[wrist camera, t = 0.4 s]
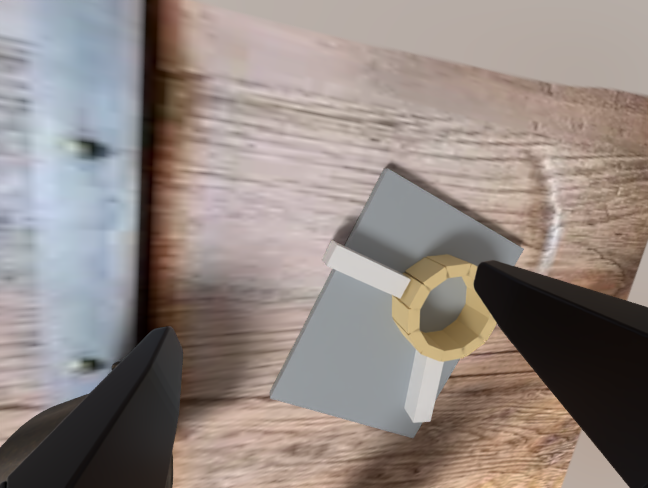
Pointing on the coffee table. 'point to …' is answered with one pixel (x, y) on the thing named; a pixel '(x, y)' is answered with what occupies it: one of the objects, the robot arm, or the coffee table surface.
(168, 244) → the coffee table surface
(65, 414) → the alarm clock
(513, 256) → the shaft cradle
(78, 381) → the coffee table surface
